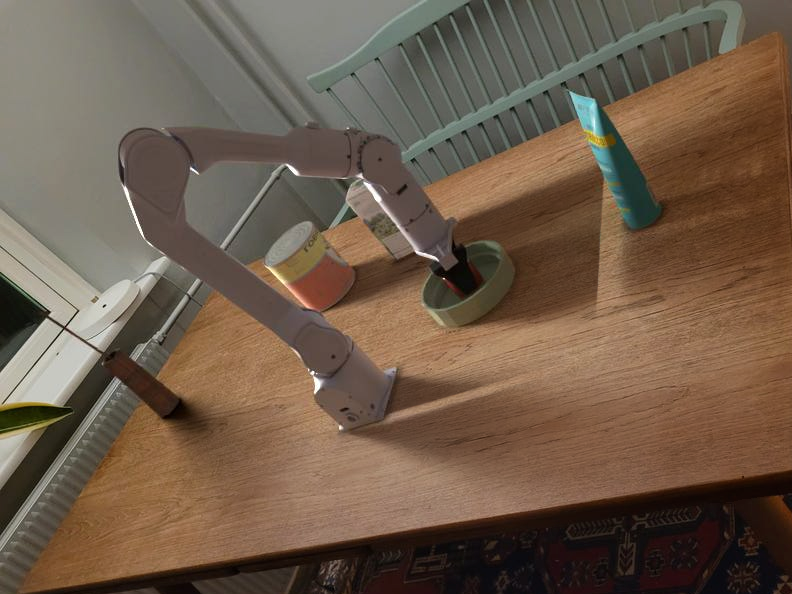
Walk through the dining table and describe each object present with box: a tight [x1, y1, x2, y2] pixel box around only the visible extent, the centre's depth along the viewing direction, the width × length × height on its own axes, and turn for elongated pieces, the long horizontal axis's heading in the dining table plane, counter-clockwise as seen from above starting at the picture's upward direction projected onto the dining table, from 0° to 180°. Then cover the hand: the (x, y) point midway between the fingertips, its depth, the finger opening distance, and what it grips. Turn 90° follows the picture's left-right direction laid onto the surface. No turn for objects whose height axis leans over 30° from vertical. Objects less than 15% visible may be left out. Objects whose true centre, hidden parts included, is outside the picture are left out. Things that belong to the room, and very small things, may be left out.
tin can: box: [443, 257, 486, 302], centre depth 101 cm, size 5×5×6 cm
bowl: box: [420, 239, 516, 328], centre depth 102 cm, size 14×14×4 cm
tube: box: [566, 88, 662, 230], centre depth 87 cm, size 7×5×19 cm, turn 28°
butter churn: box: [38, 310, 180, 418], centre depth 128 cm, size 9×10×28 cm
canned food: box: [262, 220, 357, 313], centre depth 127 cm, size 11×11×12 cm
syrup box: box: [345, 178, 415, 261], centre depth 120 cm, size 6×6×14 cm
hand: (466, 282), depth 102 cm, fingers closed on tin can, 5 cm apart
